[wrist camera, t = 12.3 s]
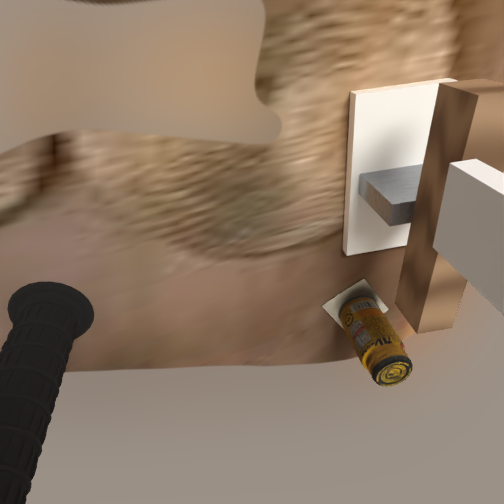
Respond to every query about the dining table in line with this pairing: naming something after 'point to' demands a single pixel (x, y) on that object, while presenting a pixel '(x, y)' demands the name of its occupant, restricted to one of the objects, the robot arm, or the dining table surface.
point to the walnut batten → (431, 194)
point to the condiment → (371, 333)
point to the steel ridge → (391, 192)
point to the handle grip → (34, 375)
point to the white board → (383, 154)
